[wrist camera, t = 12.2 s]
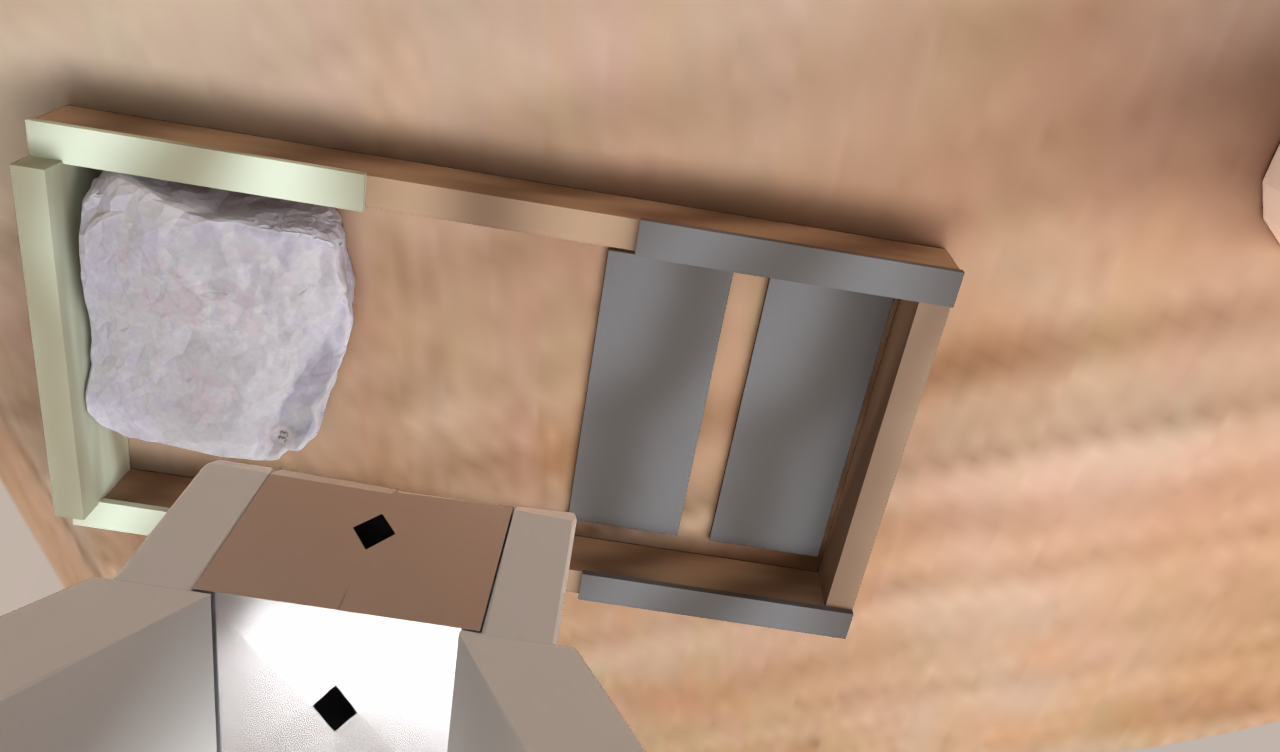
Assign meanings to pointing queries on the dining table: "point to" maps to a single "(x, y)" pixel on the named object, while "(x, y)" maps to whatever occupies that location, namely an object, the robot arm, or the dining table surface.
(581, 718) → the robot arm
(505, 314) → the dining table surface
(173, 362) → the stone block
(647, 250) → the box
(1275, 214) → the white cup
